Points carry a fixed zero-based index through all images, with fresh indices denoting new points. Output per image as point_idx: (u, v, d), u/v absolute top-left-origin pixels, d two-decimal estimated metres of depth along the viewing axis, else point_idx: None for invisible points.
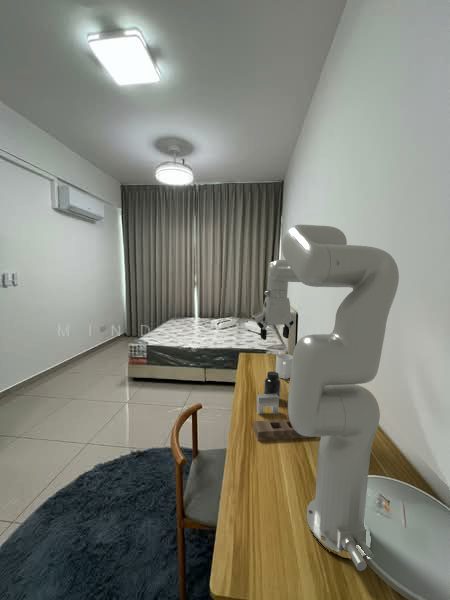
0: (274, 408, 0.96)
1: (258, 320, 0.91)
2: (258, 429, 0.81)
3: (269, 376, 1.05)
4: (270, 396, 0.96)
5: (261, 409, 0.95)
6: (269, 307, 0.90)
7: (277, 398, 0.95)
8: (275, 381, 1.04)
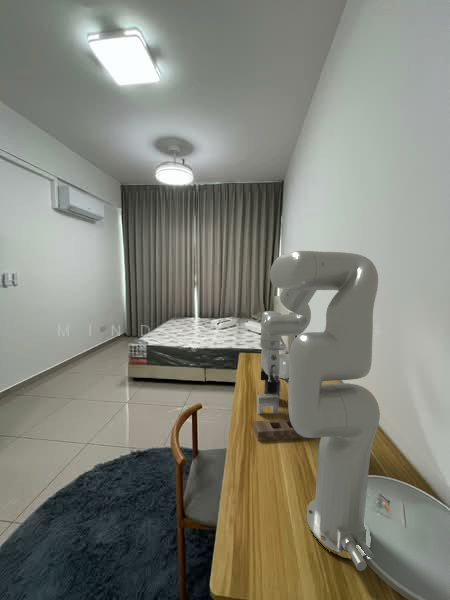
0: (274, 408, 0.96)
1: None
2: (258, 429, 0.81)
3: None
4: (270, 396, 0.96)
5: (261, 409, 0.95)
6: (279, 358, 0.91)
7: (277, 398, 0.95)
8: None
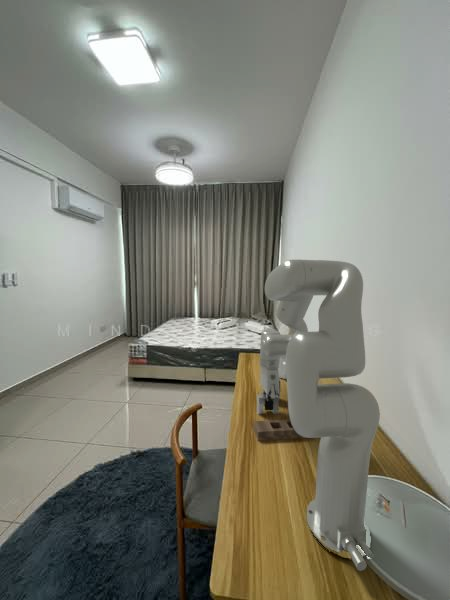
0: (274, 408, 0.96)
1: None
2: (258, 429, 0.81)
3: None
4: None
5: (261, 409, 0.95)
6: (278, 378, 0.91)
7: (277, 398, 0.95)
8: None
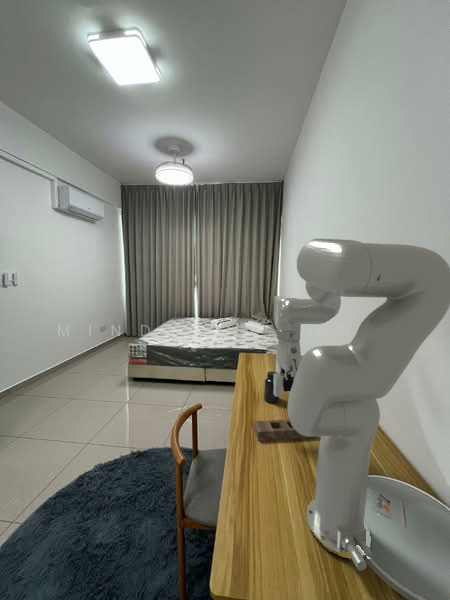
0: None
1: None
2: (258, 429, 0.81)
3: (269, 376, 1.05)
4: None
5: (279, 390, 0.82)
6: (300, 352, 0.78)
7: None
8: None
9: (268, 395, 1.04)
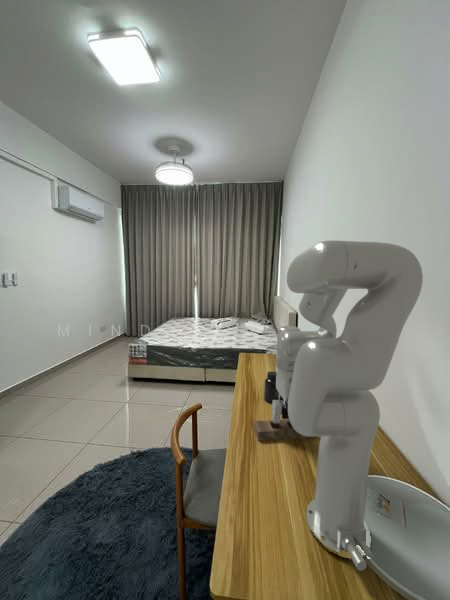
0: None
1: None
2: (258, 429, 0.81)
3: (269, 376, 1.05)
4: None
5: (277, 417, 0.83)
6: None
7: None
8: (275, 381, 1.04)
9: (268, 395, 1.04)
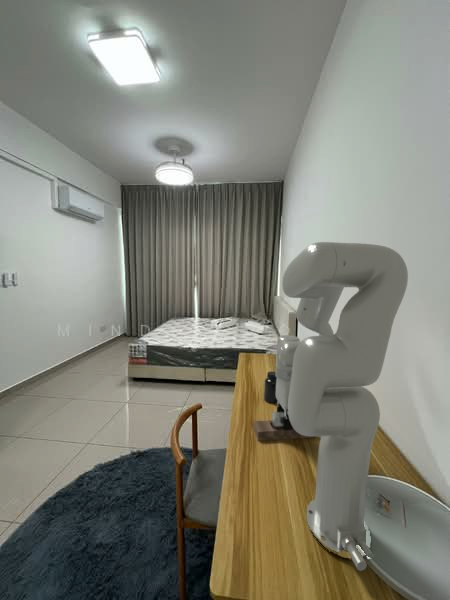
0: None
1: None
2: (258, 429, 0.81)
3: (269, 376, 1.05)
4: None
5: None
6: None
7: None
8: (275, 381, 1.04)
9: (268, 395, 1.04)
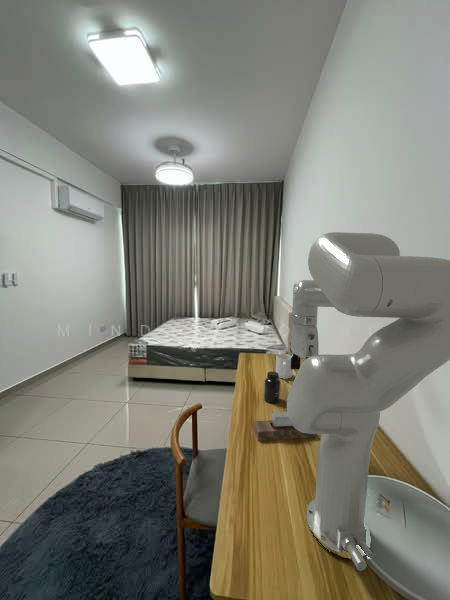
0: None
1: None
2: (258, 429, 0.81)
3: (269, 376, 1.05)
4: (287, 415, 0.83)
5: None
6: None
7: None
8: (275, 381, 1.04)
9: (268, 395, 1.04)
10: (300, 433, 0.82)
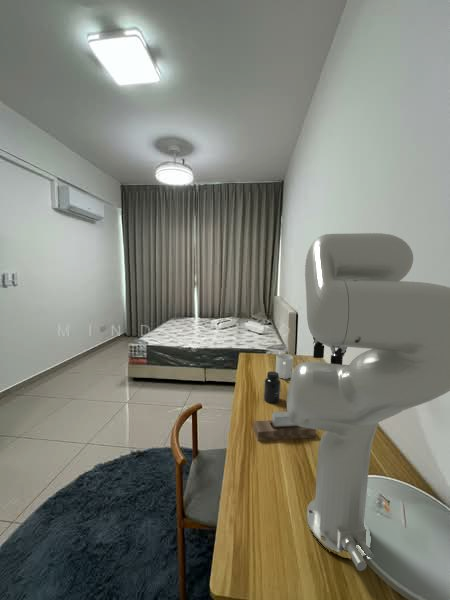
0: None
1: None
2: (258, 429, 0.81)
3: (269, 376, 1.05)
4: (287, 415, 0.83)
5: None
6: None
7: None
8: (275, 381, 1.04)
9: (268, 395, 1.04)
10: (300, 433, 0.82)
